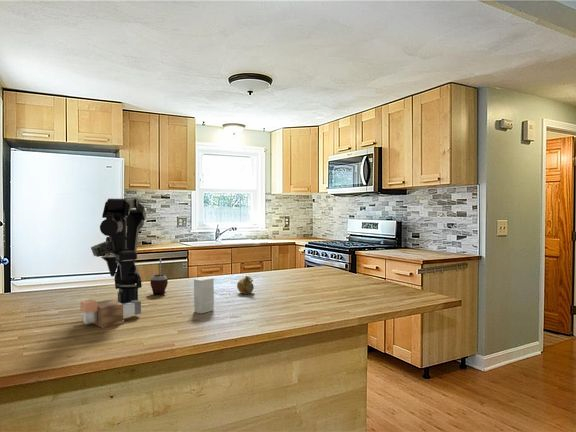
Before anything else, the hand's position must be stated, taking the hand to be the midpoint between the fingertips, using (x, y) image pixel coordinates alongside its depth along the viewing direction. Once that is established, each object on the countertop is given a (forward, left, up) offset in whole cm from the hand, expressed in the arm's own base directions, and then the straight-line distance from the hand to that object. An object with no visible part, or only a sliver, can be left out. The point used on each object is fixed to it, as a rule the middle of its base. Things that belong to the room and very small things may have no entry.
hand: (117, 278), depth 143 cm
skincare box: (-23, +19, -13) cm, 33 cm away
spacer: (+13, +8, -8) cm, 17 cm away
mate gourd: (-26, -18, -13) cm, 34 cm away
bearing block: (+7, +8, -13) cm, 17 cm away
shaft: (+5, +8, -12) cm, 15 cm away
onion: (-53, +8, -13) cm, 55 cm away
